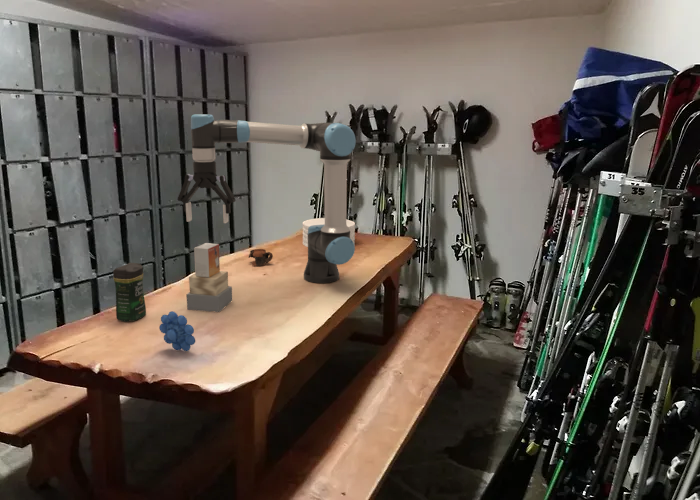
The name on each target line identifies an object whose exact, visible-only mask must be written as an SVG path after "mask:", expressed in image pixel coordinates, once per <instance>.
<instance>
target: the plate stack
mask: <svg viewBox="0 0 700 500" xmlns="http://www.w3.org/2000/svg"><path fill="white" fill-rule="evenodd" d="M313 225H325V217H319V218H318V217H317V218H310V219H306V220H304V221H302V245H303V246H305V247H307V248H308V235H307V234H308V228H309V227H310V226H313ZM346 225H347V226H348V227H349V228H350V239H351V240H352V241H353V243H354V245H355V240H356V238H355V235H356V232H355V229H356V222H355V221H353V220H349V219H346Z"/></svg>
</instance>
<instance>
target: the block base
mask: <svg viewBox="0 0 700 500" xmlns="http://www.w3.org/2000/svg"><path fill="white" fill-rule="evenodd" d="M185 294H186V309H187V310H190V311H200V312H202V311H203V312H211V311H215V312H216V313H220V312H221V311H222V310H223V309H225V308H226V307H227V306H228V305H229V304H231V303H232V302H233V287H232V285H231V286H230V285H228V288H227V289H225V290H224V291H222V292H221V293H219V294H218V295H217V296H212V295H202V294H191V293H190V291H189V292H187V293H185ZM231 301H232V302H231ZM225 306H226V307H225ZM224 307H225V308H224ZM215 312H214V313H215Z"/></svg>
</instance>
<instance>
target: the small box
mask: <svg viewBox="0 0 700 500" xmlns="http://www.w3.org/2000/svg"><path fill="white" fill-rule="evenodd" d="M193 251H194V252H193V254H194V274H195V276H199V277H211V276H213V275H214V274H217V273H219V272H220V271H221V268H220V266H221V264H220V261H221V260H220V244H219V243H209V242H205V243H203V244H200V245H198V246H195V247H194V248H193Z"/></svg>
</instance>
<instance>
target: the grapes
mask: <svg viewBox="0 0 700 500" xmlns="http://www.w3.org/2000/svg"><path fill="white" fill-rule="evenodd" d="M160 321H161V324H159V327H158V329H159V331H160V333H162V334H164V336H163V341H164V342H165V343H166V344H169V345H171V346H172V348H173V349H174V351H181V350H182V351H185V352H189V351H190V349H191V346H193V345H195V343H196V337H195V336H194V332H195V328H194V327H193V325H191V324H189V323H188V319H187V317H186V316H185V315H182V314H180V315H178V313H177V312H175V311H169V312H168V314H162V315H161V317H160Z"/></svg>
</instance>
